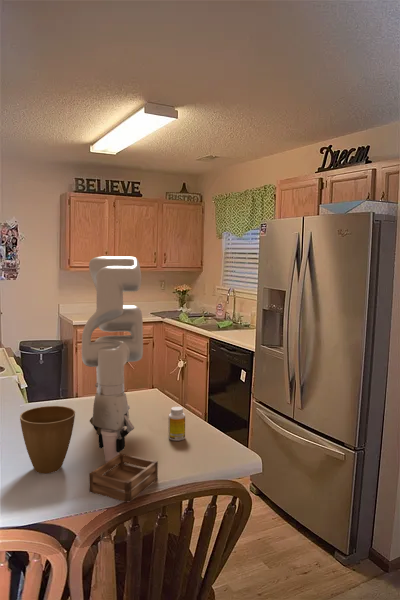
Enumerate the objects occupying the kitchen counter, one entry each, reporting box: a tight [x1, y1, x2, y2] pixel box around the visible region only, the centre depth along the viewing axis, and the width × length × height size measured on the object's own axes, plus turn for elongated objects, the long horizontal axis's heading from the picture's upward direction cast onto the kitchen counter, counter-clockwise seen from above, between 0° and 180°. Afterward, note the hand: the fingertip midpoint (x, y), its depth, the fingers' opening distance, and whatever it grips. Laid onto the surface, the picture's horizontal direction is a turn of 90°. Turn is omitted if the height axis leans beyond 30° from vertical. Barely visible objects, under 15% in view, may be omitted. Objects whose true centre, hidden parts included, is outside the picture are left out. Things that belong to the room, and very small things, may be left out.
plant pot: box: [19, 405, 76, 474], centre depth 136 cm, size 15×15×16 cm
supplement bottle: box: [167, 406, 186, 442], centre depth 159 cm, size 6×6×10 cm
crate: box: [88, 452, 159, 503], centre depth 126 cm, size 14×12×5 cm
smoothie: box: [101, 428, 122, 463], centre depth 141 cm, size 6×6×14 cm
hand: (111, 448), depth 141 cm, fingers closed on smoothie, 5 cm apart
